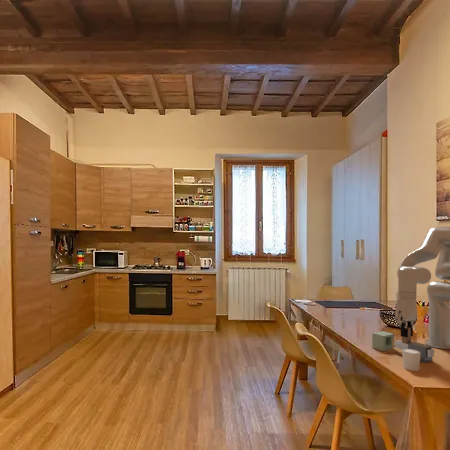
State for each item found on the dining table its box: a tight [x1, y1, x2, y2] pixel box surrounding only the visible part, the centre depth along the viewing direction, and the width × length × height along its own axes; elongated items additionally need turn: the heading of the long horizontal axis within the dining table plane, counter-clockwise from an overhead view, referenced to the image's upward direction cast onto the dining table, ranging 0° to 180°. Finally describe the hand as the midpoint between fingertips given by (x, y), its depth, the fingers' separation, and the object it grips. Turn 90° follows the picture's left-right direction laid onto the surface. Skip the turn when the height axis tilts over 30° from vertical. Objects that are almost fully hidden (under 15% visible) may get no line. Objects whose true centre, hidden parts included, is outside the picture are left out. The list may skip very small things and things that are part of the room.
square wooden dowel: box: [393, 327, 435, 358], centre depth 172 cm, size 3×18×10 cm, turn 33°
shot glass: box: [401, 349, 421, 372], centre depth 157 cm, size 7×7×7 cm
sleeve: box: [408, 341, 433, 364], centre depth 169 cm, size 6×8×6 cm
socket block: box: [371, 330, 395, 352], centre depth 184 cm, size 8×6×7 cm
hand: (406, 335), depth 174 cm, fingers closed on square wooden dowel, 3 cm apart
